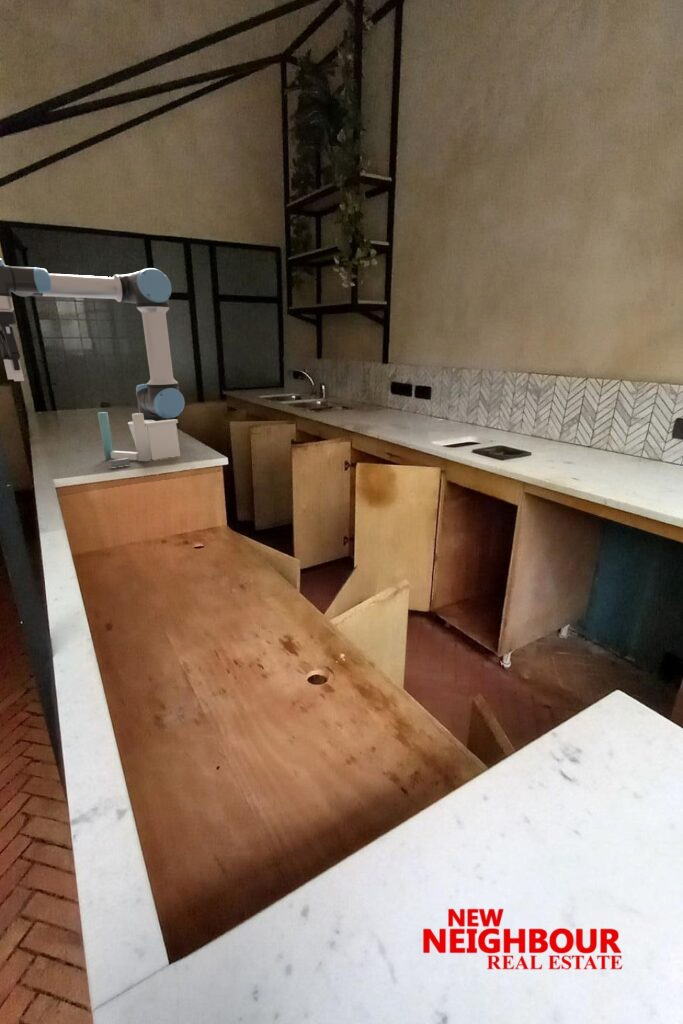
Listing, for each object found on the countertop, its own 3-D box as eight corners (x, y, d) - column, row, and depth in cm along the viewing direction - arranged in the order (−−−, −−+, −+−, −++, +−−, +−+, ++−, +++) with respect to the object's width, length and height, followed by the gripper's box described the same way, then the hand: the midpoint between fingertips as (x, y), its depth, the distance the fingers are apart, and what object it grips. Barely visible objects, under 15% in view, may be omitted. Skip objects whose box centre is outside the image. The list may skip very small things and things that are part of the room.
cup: (133, 454, 183) (128, 424, 180) (130, 450, 192) (126, 421, 188) (161, 451, 188) (157, 422, 184) (157, 447, 196) (153, 419, 192)
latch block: (128, 464, 168) (127, 457, 167) (130, 465, 166) (129, 458, 165) (109, 467, 164) (108, 460, 163) (111, 468, 162) (110, 461, 162)
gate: (152, 459, 173) (145, 413, 168) (145, 461, 170) (138, 414, 165) (110, 456, 179) (102, 411, 174) (102, 458, 176) (94, 413, 171)
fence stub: (179, 454, 181) (174, 419, 177) (182, 456, 179) (177, 419, 175) (148, 459, 175) (143, 422, 170) (151, 461, 172) (146, 423, 168)
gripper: (-18, 313, 165) (-3, 379, 172) (-9, 308, 147) (8, 382, 154) (8, 313, 169) (22, 377, 176) (20, 309, 151) (35, 381, 158)
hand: (15, 380), depth 165 cm, fingers open, 13 cm apart
